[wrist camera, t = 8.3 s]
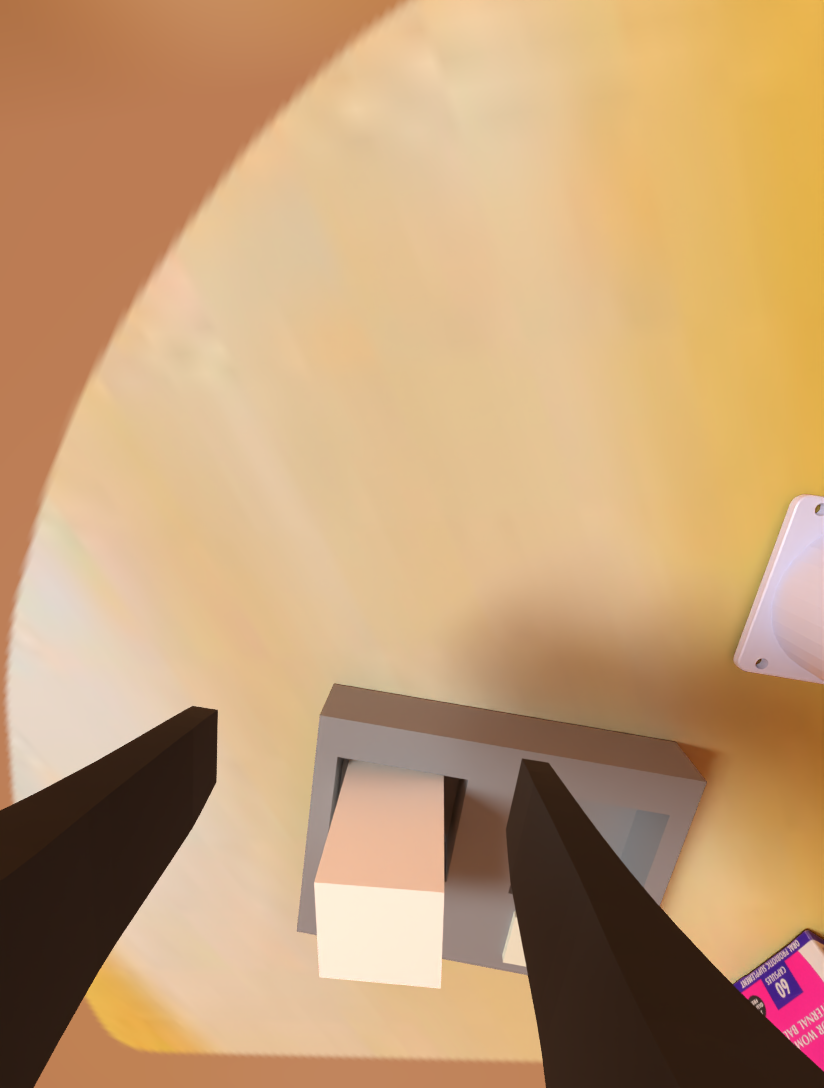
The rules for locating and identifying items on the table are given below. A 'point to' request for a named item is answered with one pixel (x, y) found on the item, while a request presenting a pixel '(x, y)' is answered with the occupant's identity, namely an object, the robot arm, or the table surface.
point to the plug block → (383, 878)
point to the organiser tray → (501, 800)
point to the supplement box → (793, 993)
